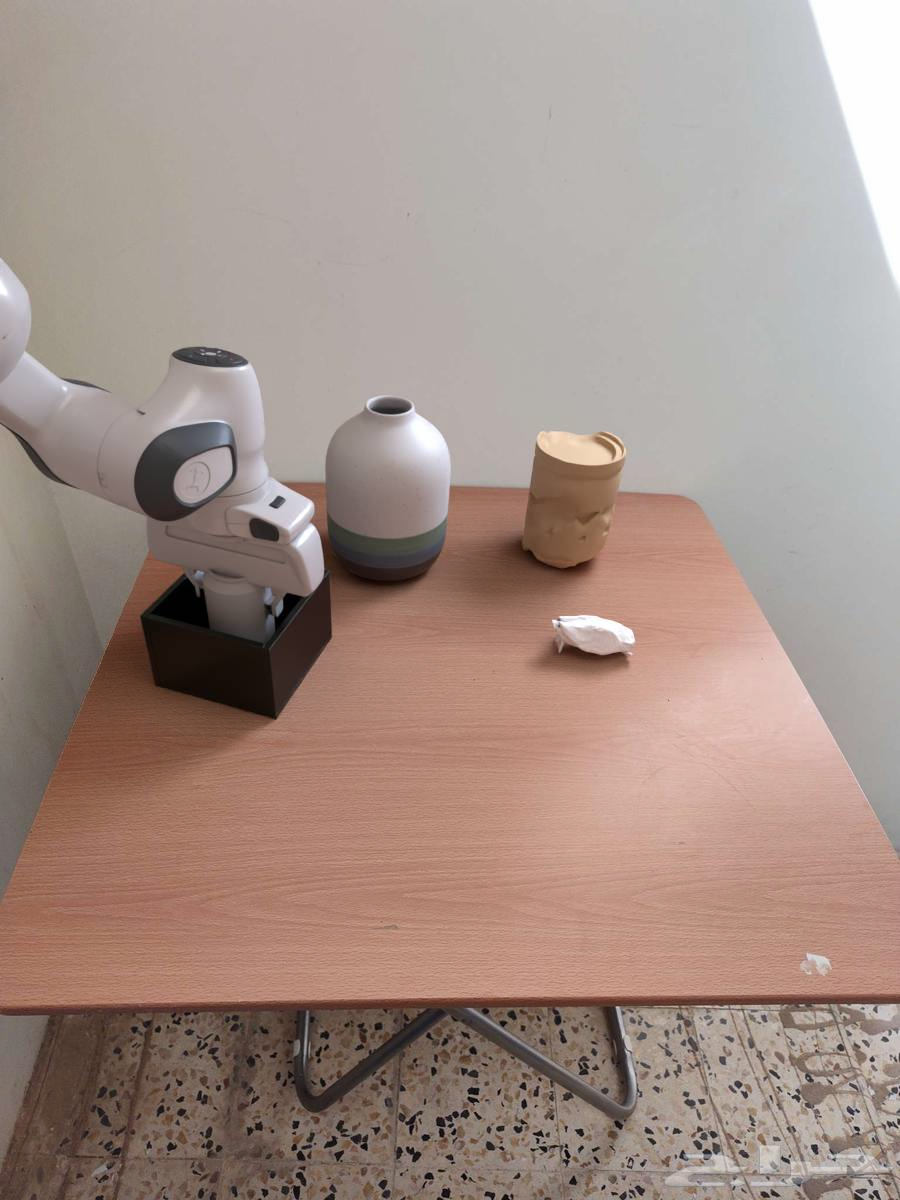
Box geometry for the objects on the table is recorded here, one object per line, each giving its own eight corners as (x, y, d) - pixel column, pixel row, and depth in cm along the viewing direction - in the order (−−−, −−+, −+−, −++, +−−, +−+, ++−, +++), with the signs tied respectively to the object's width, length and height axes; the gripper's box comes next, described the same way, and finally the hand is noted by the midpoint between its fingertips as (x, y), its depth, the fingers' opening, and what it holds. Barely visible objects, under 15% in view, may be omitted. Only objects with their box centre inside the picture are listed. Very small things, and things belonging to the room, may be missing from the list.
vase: (443, 596, 111) (455, 438, 97) (321, 590, 111) (314, 429, 96) (444, 530, 125) (454, 383, 110) (335, 525, 124) (331, 375, 110)
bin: (155, 685, 94) (139, 615, 88) (223, 609, 106) (213, 543, 100) (276, 719, 91) (269, 649, 85) (332, 637, 103) (329, 570, 97)
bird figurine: (563, 674, 102) (640, 656, 102) (556, 628, 99) (635, 610, 99) (555, 654, 106) (629, 637, 106) (548, 610, 103) (624, 593, 103)
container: (512, 531, 126) (526, 425, 115) (588, 527, 128) (608, 423, 117) (534, 578, 116) (551, 467, 105) (615, 572, 119) (640, 463, 108)
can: (243, 617, 101) (233, 537, 94) (289, 639, 98) (283, 558, 91) (199, 649, 96) (185, 566, 88) (247, 673, 93) (237, 590, 86)
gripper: (124, 494, 84) (145, 599, 93) (302, 535, 80) (308, 640, 89) (158, 468, 89) (176, 569, 98) (328, 505, 85) (331, 608, 94)
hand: (240, 604), depth 93 cm, fingers closed on can, 7 cm apart
